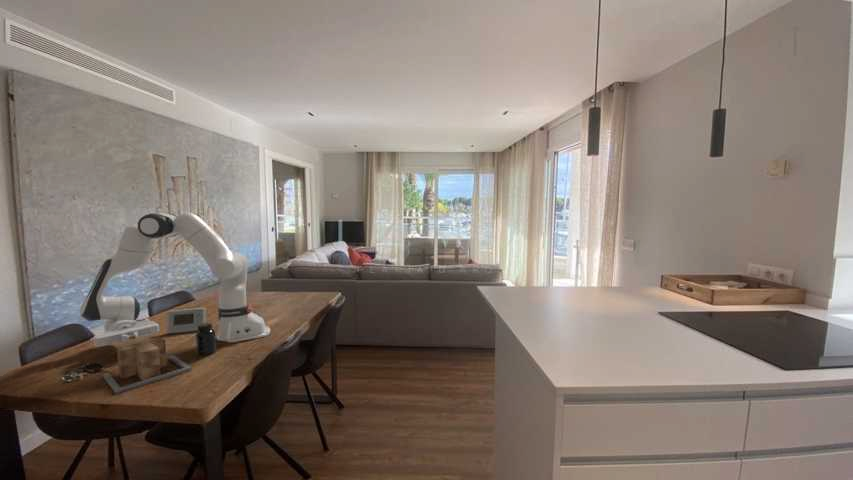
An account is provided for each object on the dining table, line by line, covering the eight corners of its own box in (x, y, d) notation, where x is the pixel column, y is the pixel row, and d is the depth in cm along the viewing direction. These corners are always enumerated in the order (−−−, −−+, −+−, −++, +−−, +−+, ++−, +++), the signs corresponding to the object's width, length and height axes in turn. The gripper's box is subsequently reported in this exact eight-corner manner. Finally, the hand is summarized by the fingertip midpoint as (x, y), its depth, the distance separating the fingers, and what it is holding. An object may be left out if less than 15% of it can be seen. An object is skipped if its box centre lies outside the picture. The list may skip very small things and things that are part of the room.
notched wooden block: (163, 362, 133) (161, 337, 133) (174, 371, 126) (172, 344, 125) (118, 375, 123) (116, 347, 123) (127, 385, 116) (125, 356, 115)
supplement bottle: (202, 349, 146) (201, 322, 145) (219, 349, 146) (218, 321, 146) (193, 356, 139) (191, 327, 138) (210, 355, 140) (209, 326, 139)
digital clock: (164, 335, 164) (162, 313, 164) (174, 329, 173) (173, 308, 173) (201, 332, 168) (200, 311, 167) (209, 326, 176) (208, 306, 176)
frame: (173, 357, 138) (173, 355, 138) (191, 370, 127) (191, 367, 127) (103, 377, 122) (102, 374, 122) (115, 393, 110) (115, 390, 110)
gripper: (88, 331, 137) (95, 338, 128) (152, 317, 153) (162, 323, 144) (90, 346, 137) (97, 354, 129) (153, 331, 153) (163, 337, 145)
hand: (132, 337), depth 137 cm, fingers closed
